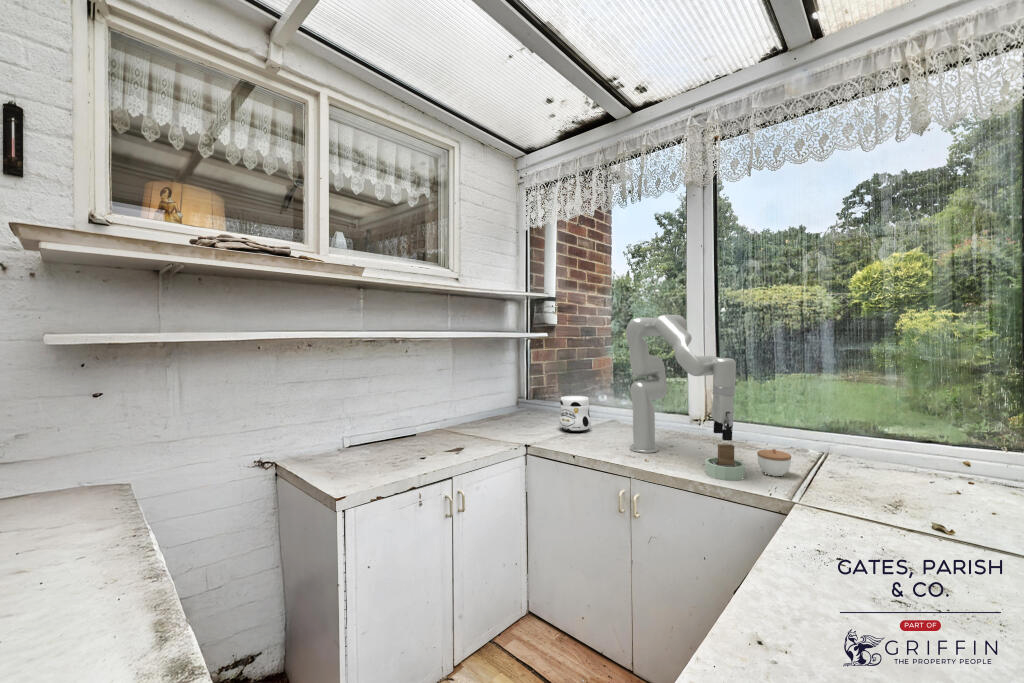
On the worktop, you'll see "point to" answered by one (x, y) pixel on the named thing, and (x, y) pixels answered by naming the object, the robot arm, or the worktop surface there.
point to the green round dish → (724, 469)
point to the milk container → (574, 414)
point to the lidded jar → (774, 462)
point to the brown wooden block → (725, 454)
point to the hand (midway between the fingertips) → (722, 436)
